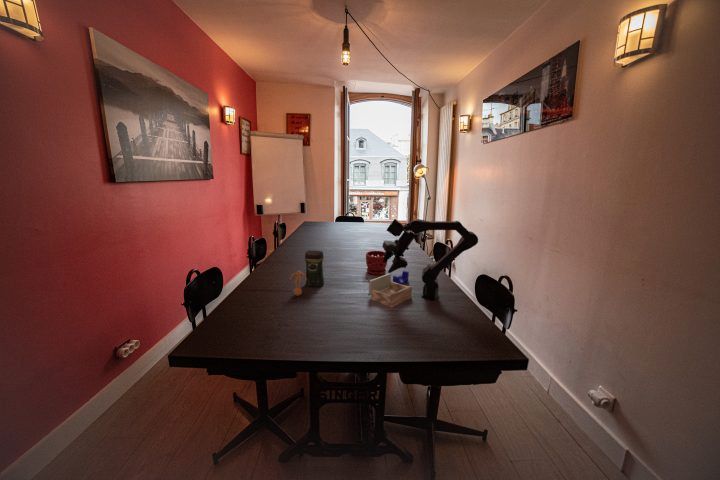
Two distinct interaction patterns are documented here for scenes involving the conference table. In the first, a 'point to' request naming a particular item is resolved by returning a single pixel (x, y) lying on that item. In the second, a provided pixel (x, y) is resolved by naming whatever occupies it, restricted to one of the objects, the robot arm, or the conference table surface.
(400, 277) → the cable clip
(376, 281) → the tailgate
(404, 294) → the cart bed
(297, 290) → the figurine
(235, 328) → the conference table surface
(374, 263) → the plant pot
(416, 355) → the conference table surface
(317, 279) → the coffee jar
